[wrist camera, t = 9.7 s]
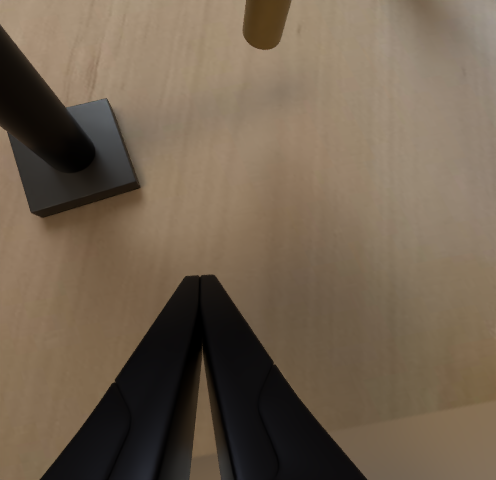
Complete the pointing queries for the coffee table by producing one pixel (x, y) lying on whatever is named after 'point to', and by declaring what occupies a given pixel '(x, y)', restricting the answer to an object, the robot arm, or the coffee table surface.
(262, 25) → the spout
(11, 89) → the tap column
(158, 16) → the coffee table surface
